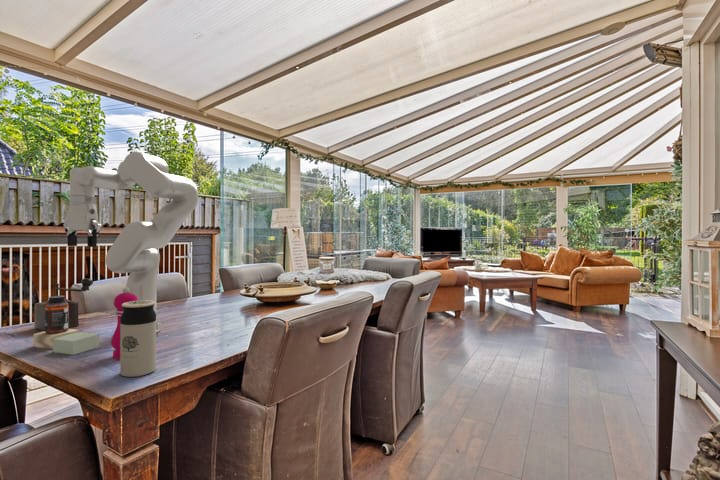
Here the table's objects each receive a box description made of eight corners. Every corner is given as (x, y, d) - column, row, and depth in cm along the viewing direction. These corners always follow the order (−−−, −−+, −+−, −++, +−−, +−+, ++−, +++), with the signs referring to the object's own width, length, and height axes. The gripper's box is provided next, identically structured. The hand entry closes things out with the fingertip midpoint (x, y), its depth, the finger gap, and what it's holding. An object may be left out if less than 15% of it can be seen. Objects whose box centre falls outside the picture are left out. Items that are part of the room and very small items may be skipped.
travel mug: (139, 365, 102) (139, 299, 102) (163, 368, 100) (163, 301, 100) (112, 375, 95) (112, 304, 94) (137, 379, 92) (137, 306, 92)
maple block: (78, 342, 123) (78, 329, 123) (52, 349, 115) (52, 336, 115) (60, 339, 125) (60, 327, 125) (33, 346, 117) (33, 333, 117)
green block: (98, 346, 118) (98, 334, 118) (73, 354, 110) (73, 341, 110) (79, 344, 120) (79, 332, 120) (53, 352, 112) (53, 338, 112)
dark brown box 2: (46, 332, 133) (46, 282, 133) (33, 328, 139) (33, 279, 139) (95, 323, 147) (95, 278, 146) (81, 320, 152) (81, 276, 152)
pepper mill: (118, 361, 105) (119, 290, 104) (106, 356, 109) (106, 287, 108) (145, 354, 111) (145, 287, 111) (132, 350, 115) (132, 285, 114)
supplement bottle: (72, 330, 121) (72, 295, 121) (51, 335, 116) (51, 298, 116) (62, 328, 124) (62, 294, 124) (40, 332, 118) (40, 297, 118)
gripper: (109, 201, 143) (109, 246, 144) (74, 202, 148) (74, 245, 148) (90, 200, 136) (90, 247, 137) (54, 200, 141) (54, 246, 141)
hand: (82, 246), depth 142 cm, fingers open, 9 cm apart
